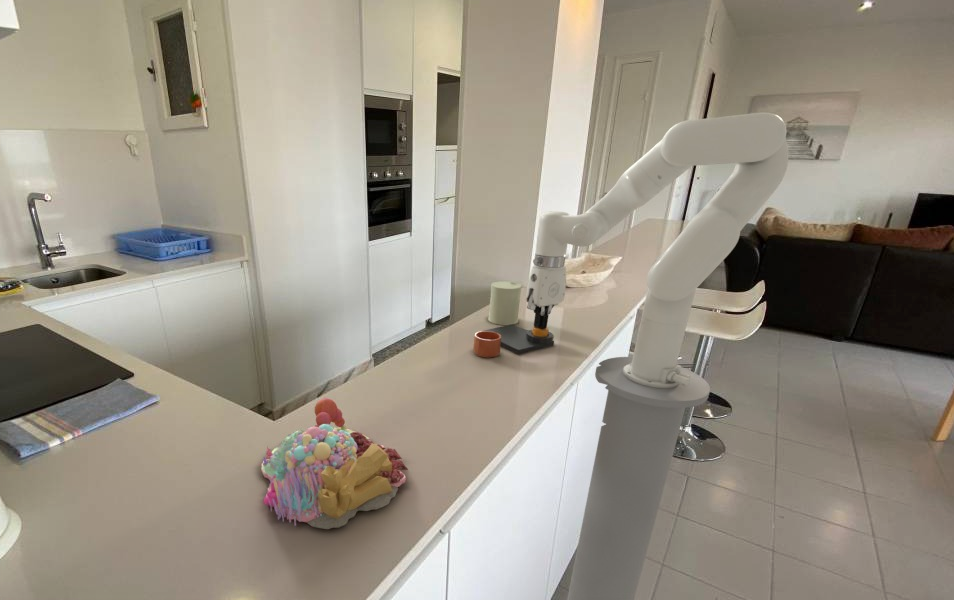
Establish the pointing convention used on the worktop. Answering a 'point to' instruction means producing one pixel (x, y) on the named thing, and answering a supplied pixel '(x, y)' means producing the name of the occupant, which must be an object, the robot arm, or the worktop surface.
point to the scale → (521, 339)
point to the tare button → (540, 332)
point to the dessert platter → (330, 472)
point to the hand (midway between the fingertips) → (540, 327)
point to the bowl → (487, 343)
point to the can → (504, 302)
